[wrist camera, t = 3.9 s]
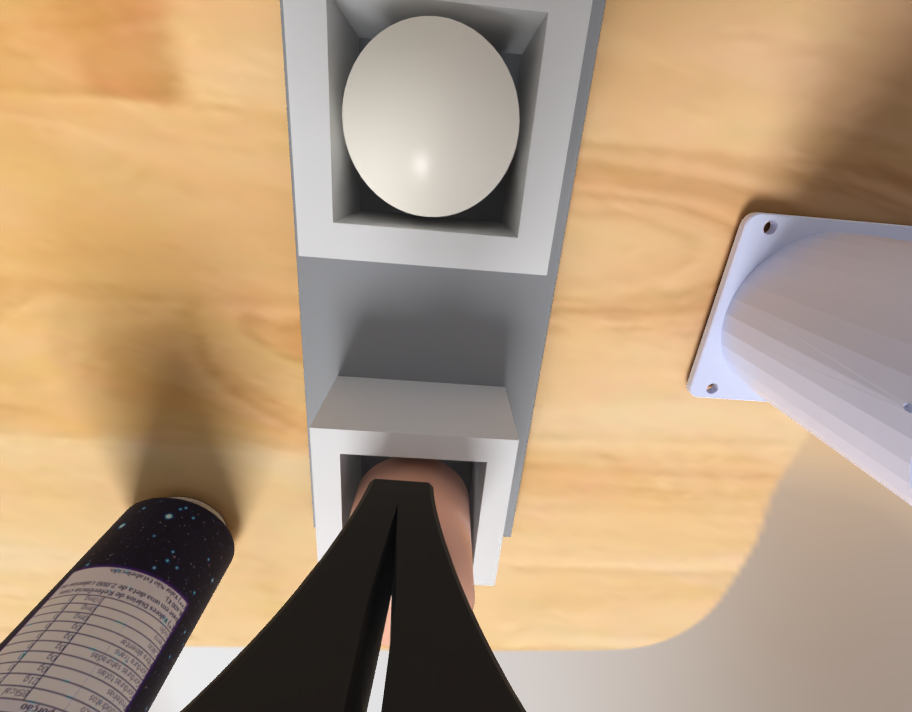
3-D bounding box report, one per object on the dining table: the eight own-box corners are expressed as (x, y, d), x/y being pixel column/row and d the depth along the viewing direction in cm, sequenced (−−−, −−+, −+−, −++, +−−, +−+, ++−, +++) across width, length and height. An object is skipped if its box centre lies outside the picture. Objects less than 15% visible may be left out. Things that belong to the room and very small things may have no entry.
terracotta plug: (473, 458, 16) (482, 549, 12) (463, 545, 18) (467, 649, 14) (355, 451, 16) (325, 542, 12) (356, 540, 18) (331, 644, 14)
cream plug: (508, 66, 14) (532, 26, 10) (492, 210, 15) (507, 223, 12) (370, 52, 14) (340, 5, 10) (370, 199, 15) (343, 210, 11)
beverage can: (108, 502, 22) (-233, 834, 11) (205, 472, 21) (-54, 793, 10) (172, 576, 24) (-59, 915, 13) (261, 550, 24) (97, 885, 12)
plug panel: (600, -19, 14) (675, -112, 9) (508, 522, 23) (523, 610, 18) (287, -55, 13) (203, -172, 9) (319, 512, 22) (286, 600, 18)
